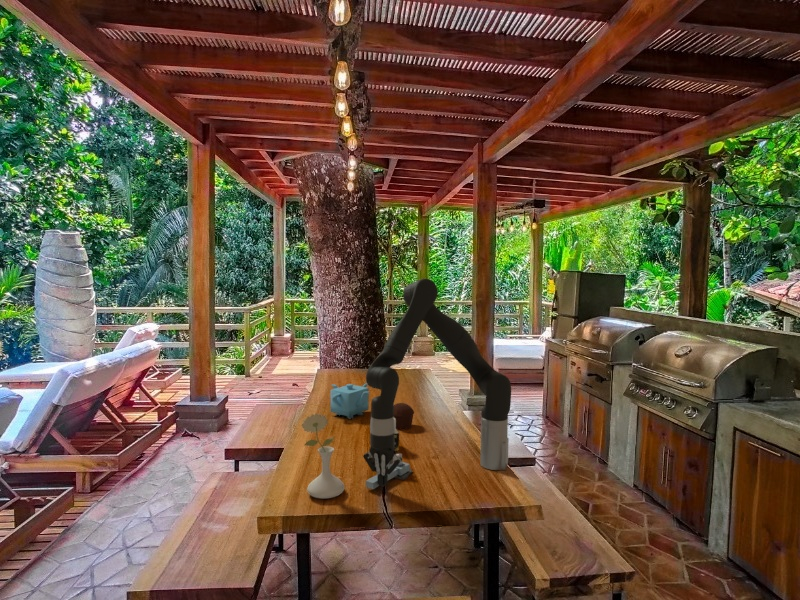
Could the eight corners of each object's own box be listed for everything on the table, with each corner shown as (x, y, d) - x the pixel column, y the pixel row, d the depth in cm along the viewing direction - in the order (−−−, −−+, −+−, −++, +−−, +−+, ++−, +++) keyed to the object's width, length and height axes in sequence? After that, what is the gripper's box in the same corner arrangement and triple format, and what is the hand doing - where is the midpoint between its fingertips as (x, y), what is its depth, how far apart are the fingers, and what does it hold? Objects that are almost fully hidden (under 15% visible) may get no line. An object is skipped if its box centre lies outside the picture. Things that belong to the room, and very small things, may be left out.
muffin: (384, 424, 208) (384, 402, 208) (406, 420, 214) (406, 399, 213) (396, 432, 198) (396, 409, 197) (418, 428, 203) (419, 406, 202)
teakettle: (330, 421, 212) (330, 389, 211) (330, 409, 231) (330, 380, 230) (371, 419, 215) (371, 388, 214) (368, 408, 233) (368, 379, 233)
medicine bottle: (381, 452, 175) (381, 421, 175) (376, 445, 182) (377, 415, 182) (399, 450, 177) (399, 419, 177) (394, 444, 184) (394, 414, 184)
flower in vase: (346, 484, 148) (346, 407, 147) (343, 502, 137) (342, 419, 135) (305, 485, 148) (304, 408, 146) (298, 502, 136) (298, 419, 135)
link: (397, 466, 160) (397, 460, 160) (409, 470, 157) (409, 464, 157) (363, 485, 145) (363, 479, 145) (375, 490, 142) (376, 483, 142)
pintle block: (412, 471, 158) (412, 452, 158) (404, 480, 152) (404, 459, 151) (393, 468, 161) (393, 449, 161) (385, 476, 155) (385, 456, 154)
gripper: (406, 429, 144) (406, 484, 145) (369, 424, 149) (369, 477, 150) (396, 437, 137) (396, 494, 138) (357, 431, 143) (358, 486, 143)
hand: (382, 485), depth 144 cm, fingers closed
